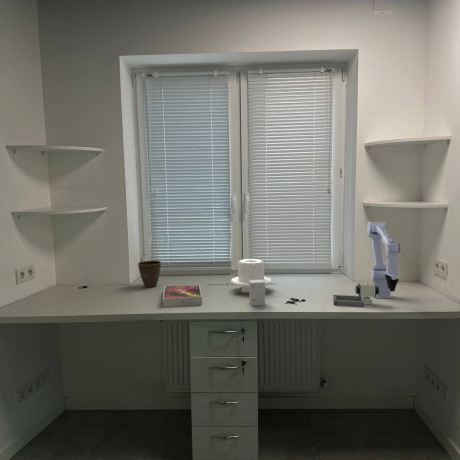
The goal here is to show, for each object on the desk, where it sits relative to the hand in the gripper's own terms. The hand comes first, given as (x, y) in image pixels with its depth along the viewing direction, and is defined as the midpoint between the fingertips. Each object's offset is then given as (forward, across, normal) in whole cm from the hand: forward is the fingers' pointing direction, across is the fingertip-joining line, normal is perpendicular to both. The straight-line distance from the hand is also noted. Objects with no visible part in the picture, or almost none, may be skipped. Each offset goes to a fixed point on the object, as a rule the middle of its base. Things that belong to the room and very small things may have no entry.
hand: (391, 289), depth 208 cm
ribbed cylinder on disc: (+9, -16, -80) cm, 82 cm away
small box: (+9, +11, -72) cm, 73 cm away
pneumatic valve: (+9, 0, -12) cm, 15 cm away
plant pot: (+9, -15, -148) cm, 149 cm away
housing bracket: (+8, 0, -22) cm, 23 cm away
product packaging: (+9, +8, -116) cm, 117 cm away
